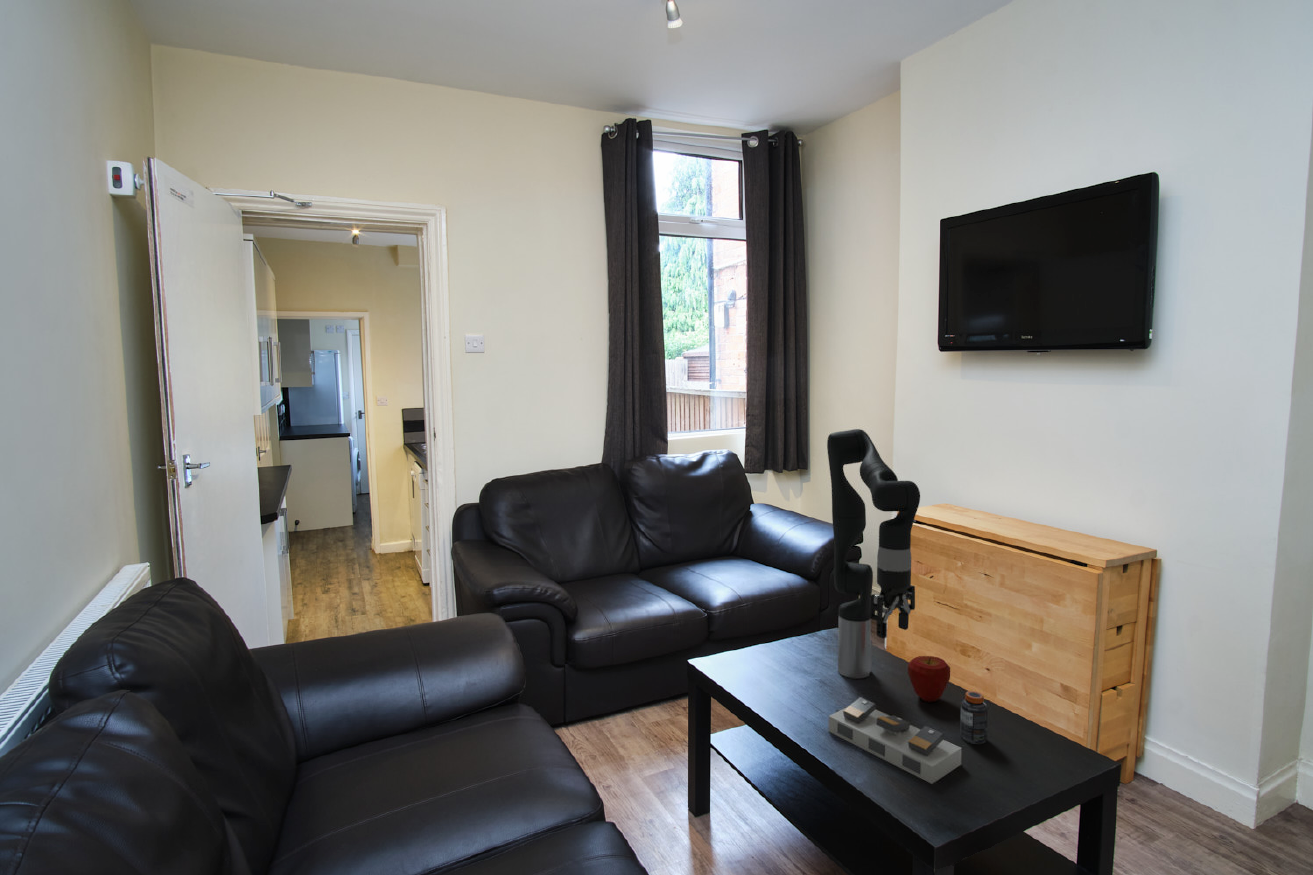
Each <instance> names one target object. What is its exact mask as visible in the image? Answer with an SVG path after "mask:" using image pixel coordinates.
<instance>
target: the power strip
mask: <svg viewBox="0 0 1313 875" xmlns="http://www.w3.org/2000/svg"><path fill="white" fill-rule="evenodd" d="M846 708H847V707H844V708H842V709H841V710H839V709H837V710H836V711H835V712H834V713H832V714H830V715H828V732H829V733H831V734H833V735H835V736H836V737H838V738H841V739H842V740H845V741H847V742H849V743H851V744H853V745H855V746H856V747H858V748H861V749H862V750H864V751H866V752H868V753H871V754H872V755H874V756H876V757H878V758H880V759H882V760H884V761H886V762H888V763H890V764H892V765H894V766H896V767H898V768H899V769H902V770H904V771H905V772H908V773H910V774H911V775H913V776H915V777H917V778H919V779H921V780H924V781H925V782H927V783H929V784H931V785H933V784H934V783H936V782H937V781H940V779H942V778H943V777H945V776H946V775H948V774H949V773H951V772H952V771H954V770H955V769H956V768H958V767H960V766H962V747H961V746H958V745H955V744H953V743H951V742H949V741H948V740H943V741H942V742H941V743H940V744H939V745H938V746H937V747H936V748H935V749H934V750H933V751H932V752H931V753H930V754H929V755H928V756H925V755H923V754H921V753H919V752H917V751H914V750H912V749H910V748H909V744H908V742H909V740H910V739H912V738H913V737H914V736H915V735H916V734H917V733H918V732H919V731H920V730H921V729H920V728H918V727H916V726H914V725H911V724H910V727H909V729H908V730H903V731H897V732H891V731H889V730H886V729H884V728H882V727H880V726H878V725H876V724H877V718H878V717H887V716H890V715H889V714H887V713H885V712H882V711H880V710H878V709H875V710H874V711H873V712H872V713H871V714H870V715H869V716H867V717H866V718H865V719H864V720H863V721H862V722H860V723H859V724H858V723H856V722H854V721H852V720H850V719H847V718H845V717H844V714H843V711H844V710H845V709H846Z"/></svg>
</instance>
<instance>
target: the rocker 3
mask: <svg viewBox="0 0 1313 875" xmlns="http://www.w3.org/2000/svg"><path fill="white" fill-rule="evenodd" d="M943 740H944V733H942V732H940V731H939V730H936V729H934V728H931V727H929V726H927V725H924V726H923V727H922V728H921V729H920V731H919V732H918V733H917V734H916V735H915V736H914V737H913V738H912V739H910V740H909V742H908V744H909V748H910V749H912V750H914V751H917V752H919V753H921V754H923V755H925V756H928V755H929V754H930V753H931V752H932V751H933V750H934V749H935V748H936V747H937V746H938V745H939V744H940V743H941V742H942V741H943Z"/></svg>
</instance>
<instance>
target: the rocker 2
mask: <svg viewBox="0 0 1313 875" xmlns="http://www.w3.org/2000/svg"><path fill="white" fill-rule="evenodd" d="M876 725H878V726H880V727H882V728H884V729H886V730H889V731H891V732H897V731H903V730H908V729H909V727H910V725H911V722H910V721H908V720H905V719H903V718H900V717H898V716H896V715H889V716H887V717H878V718H877V724H876Z"/></svg>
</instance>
